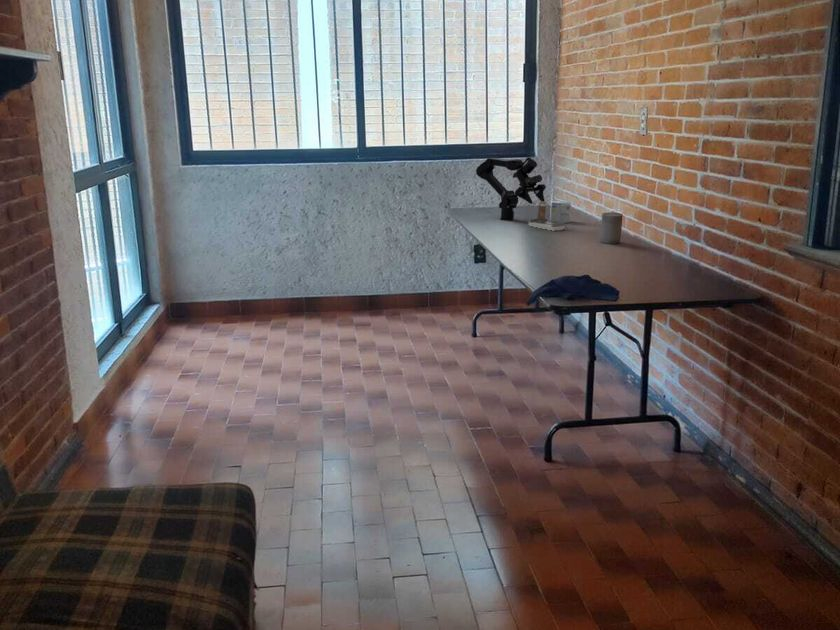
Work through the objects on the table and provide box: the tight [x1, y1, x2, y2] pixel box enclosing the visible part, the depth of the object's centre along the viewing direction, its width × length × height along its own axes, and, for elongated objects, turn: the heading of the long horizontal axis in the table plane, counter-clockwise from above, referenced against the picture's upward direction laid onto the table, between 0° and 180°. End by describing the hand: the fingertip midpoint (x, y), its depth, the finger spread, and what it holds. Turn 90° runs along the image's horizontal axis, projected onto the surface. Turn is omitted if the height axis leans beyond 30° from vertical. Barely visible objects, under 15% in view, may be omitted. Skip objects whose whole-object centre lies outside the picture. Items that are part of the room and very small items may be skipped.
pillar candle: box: [599, 211, 623, 245], centre depth 362 cm, size 10×10×15 cm
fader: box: [535, 200, 548, 223], centre depth 398 cm, size 4×5×11 cm
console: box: [528, 217, 566, 232], centre depth 396 cm, size 17×9×4 cm, turn 39°
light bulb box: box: [549, 200, 572, 223], centre depth 416 cm, size 11×7×11 cm, turn 84°
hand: (537, 202), depth 399 cm, fingers open, 9 cm apart
